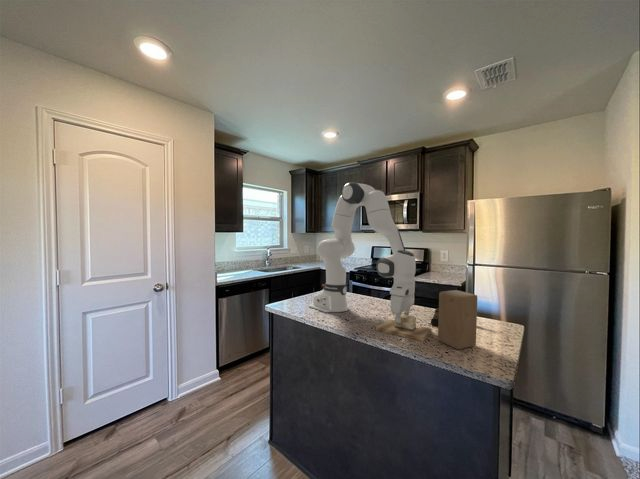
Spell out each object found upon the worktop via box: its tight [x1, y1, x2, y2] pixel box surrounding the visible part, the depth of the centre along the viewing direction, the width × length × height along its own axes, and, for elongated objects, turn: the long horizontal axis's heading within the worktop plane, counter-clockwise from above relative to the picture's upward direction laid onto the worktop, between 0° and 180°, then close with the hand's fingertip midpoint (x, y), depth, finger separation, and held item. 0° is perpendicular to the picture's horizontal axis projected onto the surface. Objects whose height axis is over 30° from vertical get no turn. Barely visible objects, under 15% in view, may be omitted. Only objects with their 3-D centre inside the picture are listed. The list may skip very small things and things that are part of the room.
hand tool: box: [430, 307, 439, 328], centre depth 134 cm, size 19×4×5 cm, turn 150°
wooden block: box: [437, 289, 478, 350], centre depth 106 cm, size 10×10×20 cm
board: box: [375, 319, 432, 342], centre depth 119 cm, size 20×13×2 cm, turn 54°
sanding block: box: [393, 313, 417, 331], centre depth 119 cm, size 8×4×5 cm, turn 54°
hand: (402, 319), depth 120 cm, fingers open, 8 cm apart
